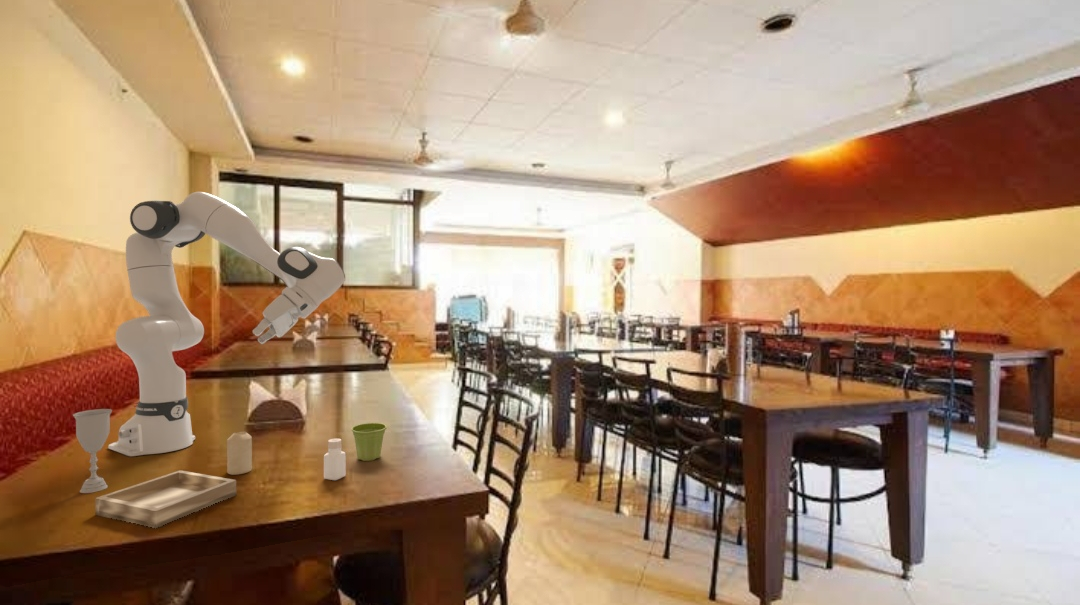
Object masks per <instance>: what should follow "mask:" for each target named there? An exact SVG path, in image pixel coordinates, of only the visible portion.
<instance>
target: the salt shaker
mask: <svg viewBox="0 0 1080 605" xmlns="http://www.w3.org/2000/svg"><path fill="white" fill-rule="evenodd" d="M342 441H343V440H342V439H341V438H330V439H328V440H327V450H328V451H327V452H326V453H325V454H324V455H323V478H324V480H330V481H331V480H332V481H338V480H340V479H342V478H344V477H345V476H346V474H347V472H346V470H347V464H346V463H347V461H346V460H347V459H346V458H347V456H346V455H347V454H346V452H345V451H342V447H343V446H342Z"/></svg>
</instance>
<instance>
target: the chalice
mask: <svg viewBox="0 0 1080 605" xmlns="http://www.w3.org/2000/svg"><path fill="white" fill-rule="evenodd" d="M112 411H113V409H111V408H99V409H98V408H97V409H89V410H82V411H79V412H75V413H73V414H72V416H73V418H74V419H75V437H76V438H77V440H78V443H79V444H80V445H81V447H82V449H83V450H84V451H85V453H89V454H90V459H89V461H88V462H89V463H90V468H88V471H90V477H88V478H87V479H85V480H84V482H83V484H82V486H81V489H80V490H79V493H81V494H92V493H96V492H99V491H100V492H101V491H104V490H106V489H108V487H109V485H108V484H107V482H106V481H105V479H104V478H103V477H101V476H99V475H98V474H97V470H98V469H99V467H98V465H97V462H98V460H99V459H98V457H97V453H98V451H101V450H102V449H103V447H104V445H105V443H106V441H107V440H108V436H109V435H110V431H111V430H110V429H111V426H110V420H111V419H110V416H111V414H112Z"/></svg>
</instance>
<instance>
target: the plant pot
mask: <svg viewBox="0 0 1080 605" xmlns="http://www.w3.org/2000/svg"><path fill="white" fill-rule="evenodd" d="M387 428H388V427H387V425H386V424H385V423H381V422H380V423H379V422H368V423H360V424H357V425H354V426H352V427H351V428H350V430H351V431H352V434H353V436H354V443H355V449H356V456H357V460H361V461H363V462H369V461H371V462H372V461H375V460H376V459H380V458H381V455H382V449H383V448H382V447H383V441H384V435H385V431H386V430H387Z"/></svg>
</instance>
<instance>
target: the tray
mask: <svg viewBox="0 0 1080 605" xmlns="http://www.w3.org/2000/svg"><path fill="white" fill-rule="evenodd" d="M236 496H237V479H232V478H225V477H221V476H216V475H209V474H204V473H199V472H197V473H196V472H193V471H192V472H191V471H186V470H180V469H179V470H176V471H173V472H170V473H168V474H164V475H162V476H158V477H156V478H152V479H150V480H146V481H143V482H140V483H137V484H134V485H131V486H128V487H125V488H122V489H119V490H115V491H112V492H110V493H106V494H103V495H100V496H97V497H95V498H94V500H95V501H94V502H95V504H94V505H95V506H94V511H95V512H94V514H95V516H99V517H103V518H107V519H111V518H112V520H116V519H117V520H116V521H120V520H122V521H121V522H124V521H126V522H125V523H129V522H131V523H130V524H133V523H136V524H135V525H137V524H140V525H139V526H141V525H144V526H143V527H146V526H148V527H147V528H150V527H152V528H151V529H154V528H155V530H156V528H157V529H159V528H161V527H164V526H166V525H168V524H167V523H169V522H171V523H173V522H175V521H174V520H176V521H178V520H180V519H179V518H181V519H183V518H185V517H188V516H190V515H192V514H191V513H193V512H195V513H197V512H200V511H202V510H204V509H203V508H205V509H207V508H209V507H212V506H214V505H216V504H215V503H217V504H218V502H219V503H221V502H224V501H226V500H228V498H229V499H231V498H233V497H236ZM223 500H224V501H223ZM220 501H221V502H220ZM213 504H214V505H213ZM211 505H212V506H211ZM208 506H209V507H208ZM206 507H207V508H206ZM201 509H202V510H201ZM199 510H200V511H199ZM189 514H190V515H189ZM193 514H194V513H193ZM187 515H188V516H187ZM184 516H185V517H184ZM182 517H183V518H182ZM177 519H178V520H177ZM172 521H173V522H172ZM165 524H166V525H165ZM169 524H170V523H169ZM163 525H164V526H163ZM158 527H159V528H158Z"/></svg>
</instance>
